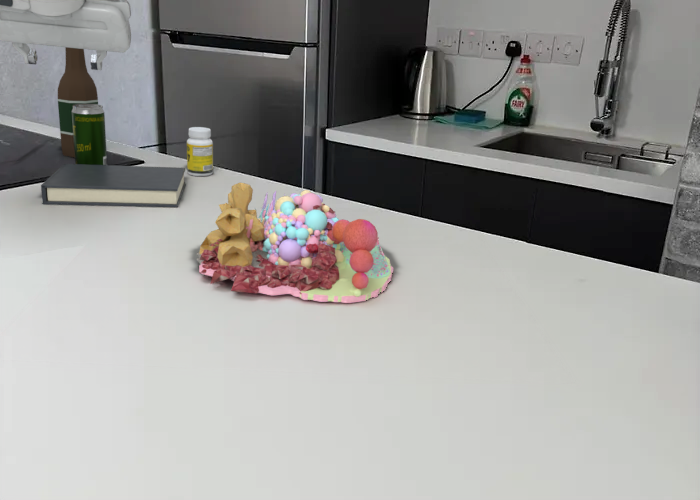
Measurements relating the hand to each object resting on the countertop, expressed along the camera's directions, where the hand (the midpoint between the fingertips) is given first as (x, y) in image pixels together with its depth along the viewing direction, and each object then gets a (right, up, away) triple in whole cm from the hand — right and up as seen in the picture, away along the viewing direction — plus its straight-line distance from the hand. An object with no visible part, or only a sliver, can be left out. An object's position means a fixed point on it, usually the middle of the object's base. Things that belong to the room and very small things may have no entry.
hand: (64, 64), depth 105 cm
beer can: (-3, -15, +18) cm, 24 cm away
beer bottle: (-10, -9, +31) cm, 34 cm away
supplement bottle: (+16, -14, +23) cm, 31 cm away
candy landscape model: (+37, -31, -18) cm, 51 cm away
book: (+6, -19, +7) cm, 21 cm away
